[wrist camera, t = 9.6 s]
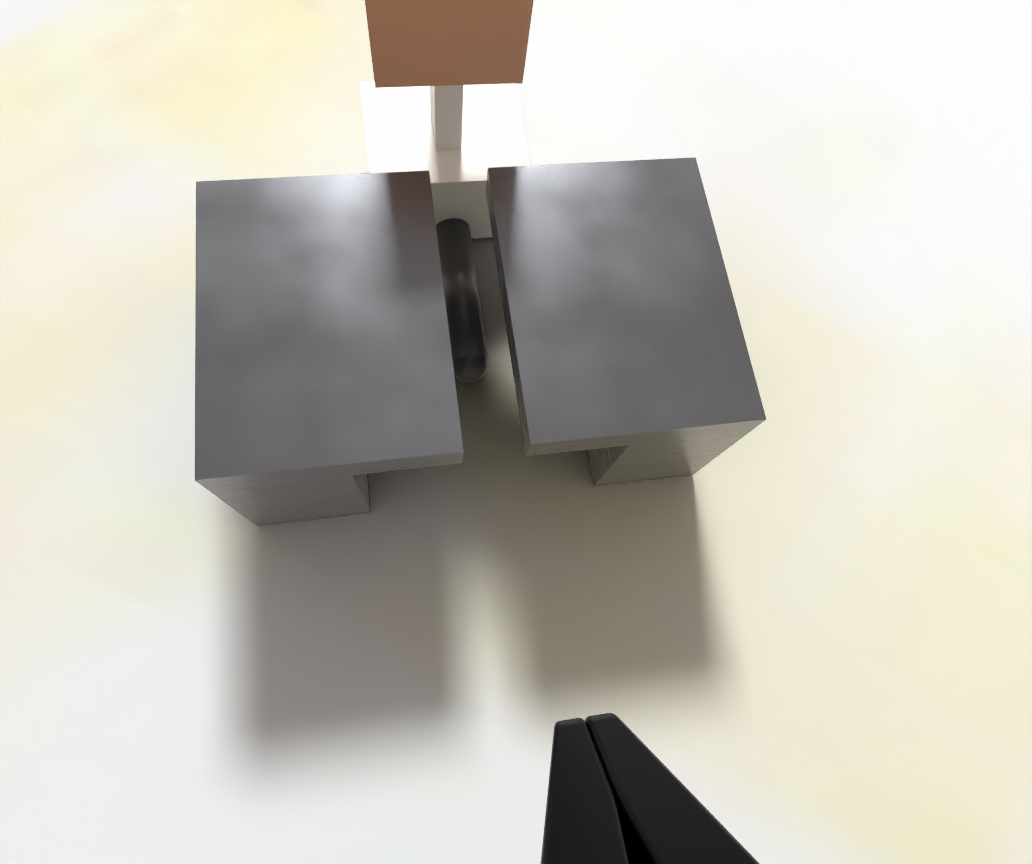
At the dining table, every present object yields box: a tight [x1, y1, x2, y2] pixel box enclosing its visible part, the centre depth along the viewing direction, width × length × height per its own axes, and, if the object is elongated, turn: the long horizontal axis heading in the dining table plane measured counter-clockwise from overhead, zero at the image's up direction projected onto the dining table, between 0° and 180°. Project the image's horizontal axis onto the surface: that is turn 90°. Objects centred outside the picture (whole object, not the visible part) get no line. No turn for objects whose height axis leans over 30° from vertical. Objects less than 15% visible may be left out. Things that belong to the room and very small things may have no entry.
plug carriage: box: [360, 0, 533, 383], centre depth 18 cm, size 10×5×11 cm, turn 8°
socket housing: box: [195, 158, 766, 525], centre depth 20 cm, size 8×14×5 cm, turn 98°
